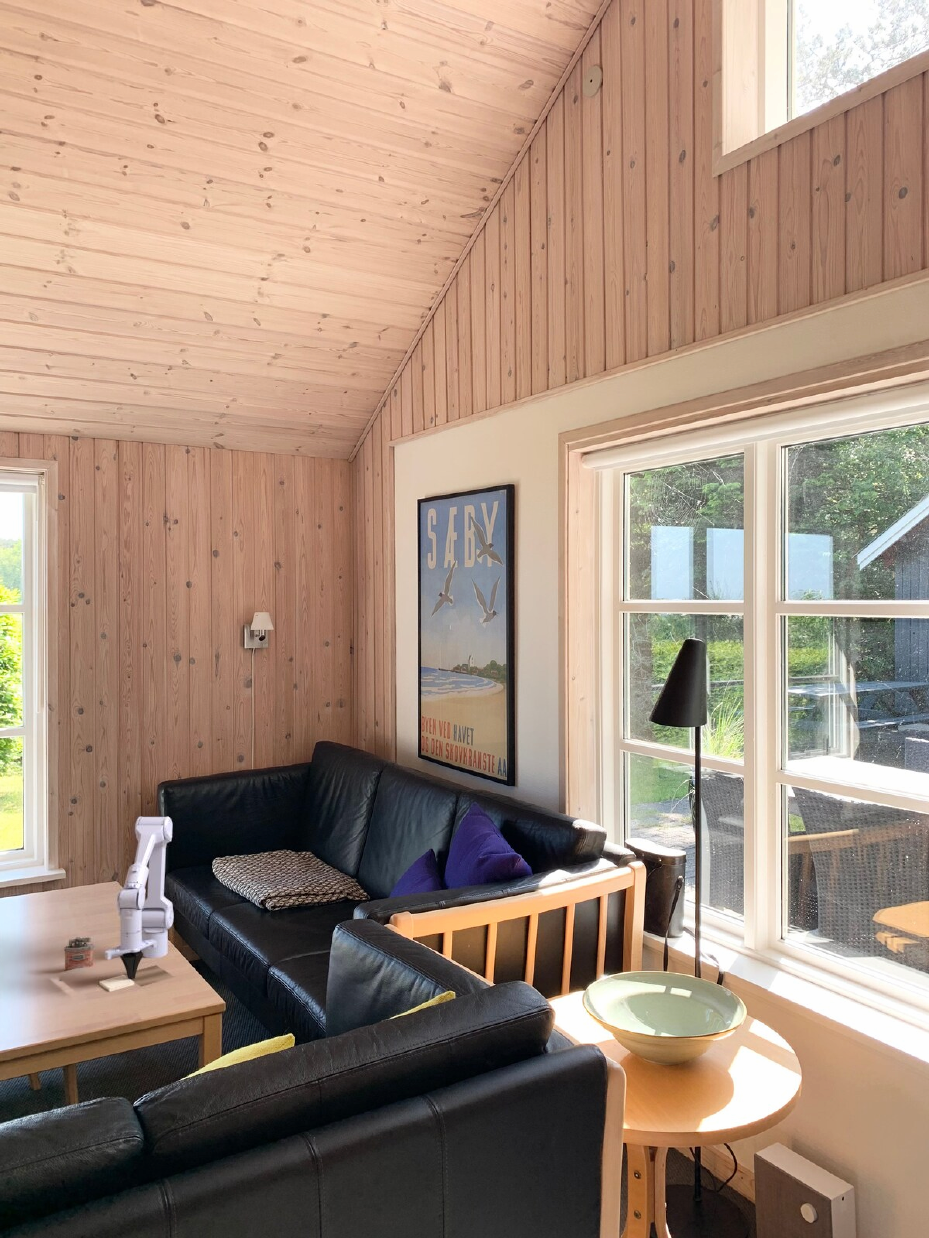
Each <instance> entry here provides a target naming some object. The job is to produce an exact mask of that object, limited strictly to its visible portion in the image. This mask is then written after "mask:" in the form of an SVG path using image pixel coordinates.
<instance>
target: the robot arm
mask: <svg viewBox="0 0 929 1238" xmlns="http://www.w3.org/2000/svg"><path fill="white" fill-rule="evenodd" d="M134 833H135V837H136V841H137V842H138V843H137V847H136V852H135V858H134V864H131V865H130V866H129V867H128V871H127V874H126V877H125V882H124V883H123V888H122V890H119V891H118V894H117V899H116V907H117V910H118V916H120V917H119V918H120V921H119V922H120V928H119V929H120V945H119V946H116V947H113V948H111V949H108V950H105V951H104V959H106V960H107V961H108V960H109V961H110V960H111V959H112V958H117V957H119V958H120V959H121V961H122V964H123V965H124V969H125V971H126V973H127V976H128V978H129V979H134V978H135V975H136V971H137V970H138V967H139V966H140V965H139V964H140V963H141V961H142V959H143V957H144V958H146V959H156V958H157V959H159V958H162V957H164V956H166V955H168V951H169V947H168V939H169V936H168V931H169V930H170V929H171V927H172V925H173V923H174V918H175V917H174V909H173V907H174V906H173V905H174V904H173V902H172V901H170V900H169V899H168V898H166V896H165V894H164V893H165V873H166V850H167V849H166V848H167V844H168V843H170V842H172V838H173V821H172V818H171V817H169V816H138V818H137V819H136V821H135V823H134ZM147 881H148V882H147ZM146 884H147V885H146ZM146 886H147V892H146ZM146 893H147V897H146Z"/></svg>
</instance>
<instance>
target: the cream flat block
mask: <svg viewBox="0 0 929 1238" xmlns="http://www.w3.org/2000/svg"><path fill="white" fill-rule="evenodd" d="M99 985H100V986H101V987H103V988H104V989H105V990H106V991H108V993H109V992H113V991H117V990H121V989H123V988H127V987H130V986H134V985H135V982H134V981H132V980H131V979H129V978H128V977H126V976H125V975H123V974H121V975H116V976H114V977H111V978H107V979H103V980H100V981H99Z"/></svg>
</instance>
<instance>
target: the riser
mask: <svg viewBox="0 0 929 1238" xmlns="http://www.w3.org/2000/svg"><path fill="white" fill-rule="evenodd" d="M122 975H125V976H126V977H128V976H127V972H126V973H123V974H122ZM171 978H172V979H173V978H175V976H174V975H173V974H171V973H169V972H168V971H166V970H165V969H164V968H161V967H160V966H158V965H156V964H155V965H151V966H149V967H144V968H141V969H137V971H136V975H135V978H134V979H131V980H132V981H134V984H137V985H138V986H140V987H145V986H149V985H151V984H154V983H159V982H162V981H165V980H169V979H171Z"/></svg>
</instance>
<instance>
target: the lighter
mask: <svg viewBox="0 0 929 1238" xmlns="http://www.w3.org/2000/svg"><path fill="white" fill-rule="evenodd" d="M91 942H92V938H91V937H90V936H86V937H85V936H84V937H80V936H77V937H75V938H72V939H71V938H69V939H68V945H66V946H64V948H63V950H64V972H68V971H72V970H75V969H83V968H90V967H92V966H94V944H93V943H91Z"/></svg>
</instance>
